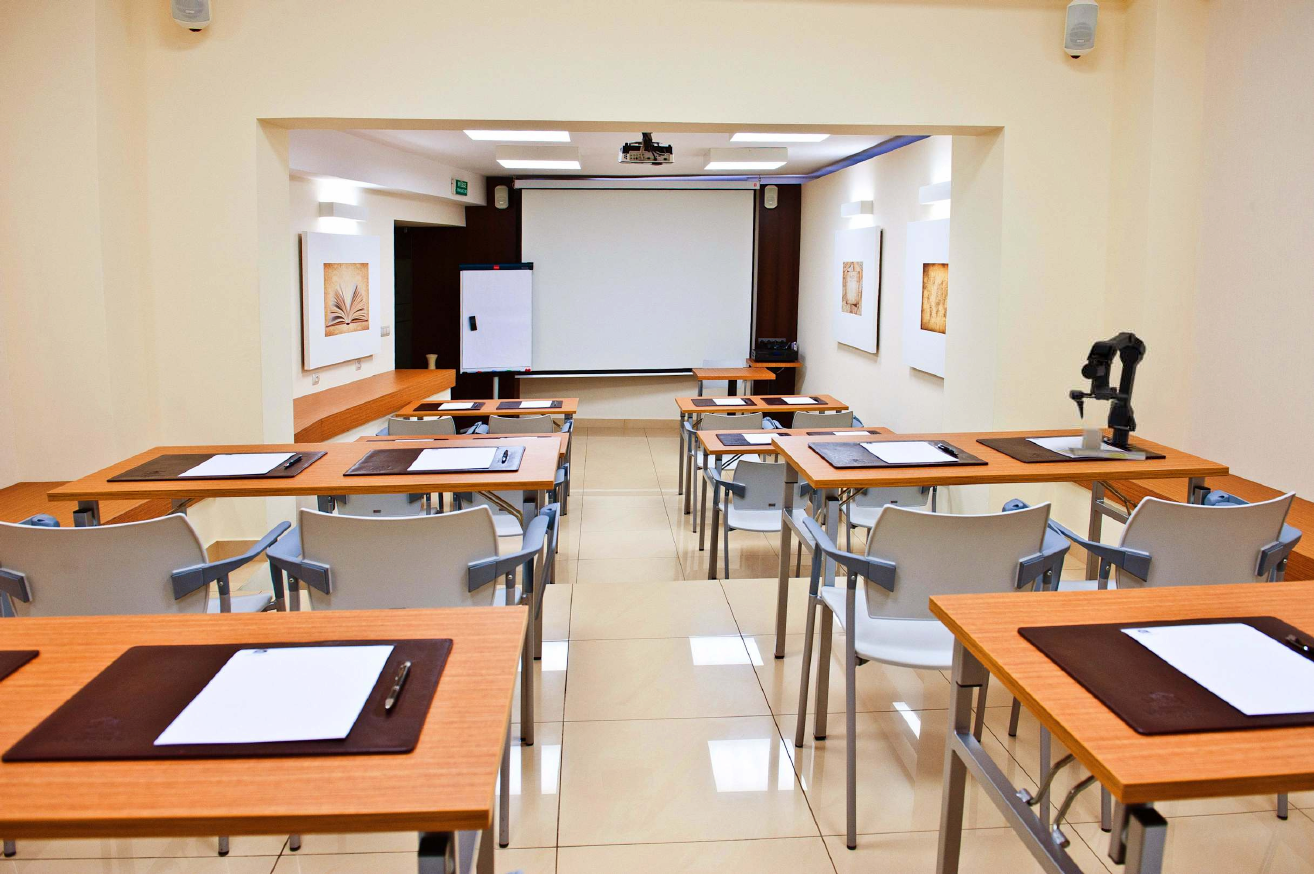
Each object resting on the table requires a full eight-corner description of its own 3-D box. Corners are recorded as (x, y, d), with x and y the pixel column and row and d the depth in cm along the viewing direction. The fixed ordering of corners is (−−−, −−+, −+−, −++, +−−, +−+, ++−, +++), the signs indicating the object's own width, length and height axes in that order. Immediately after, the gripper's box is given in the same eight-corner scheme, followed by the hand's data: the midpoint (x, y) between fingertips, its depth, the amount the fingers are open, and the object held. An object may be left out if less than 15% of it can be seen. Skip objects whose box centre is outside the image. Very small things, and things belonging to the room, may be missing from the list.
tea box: (1084, 452, 330) (1087, 431, 329) (1081, 448, 337) (1083, 427, 335) (1100, 453, 329) (1103, 432, 327) (1096, 449, 336) (1099, 428, 334)
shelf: (1067, 449, 339) (1068, 441, 338) (1135, 454, 333) (1136, 446, 332) (1074, 457, 326) (1075, 448, 325) (1144, 462, 320) (1145, 454, 320)
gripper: (1077, 378, 321) (1071, 422, 325) (1134, 381, 317) (1129, 425, 320) (1071, 374, 332) (1066, 416, 335) (1127, 377, 328) (1121, 419, 331)
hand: (1095, 419), depth 330 cm, fingers open, 9 cm apart
